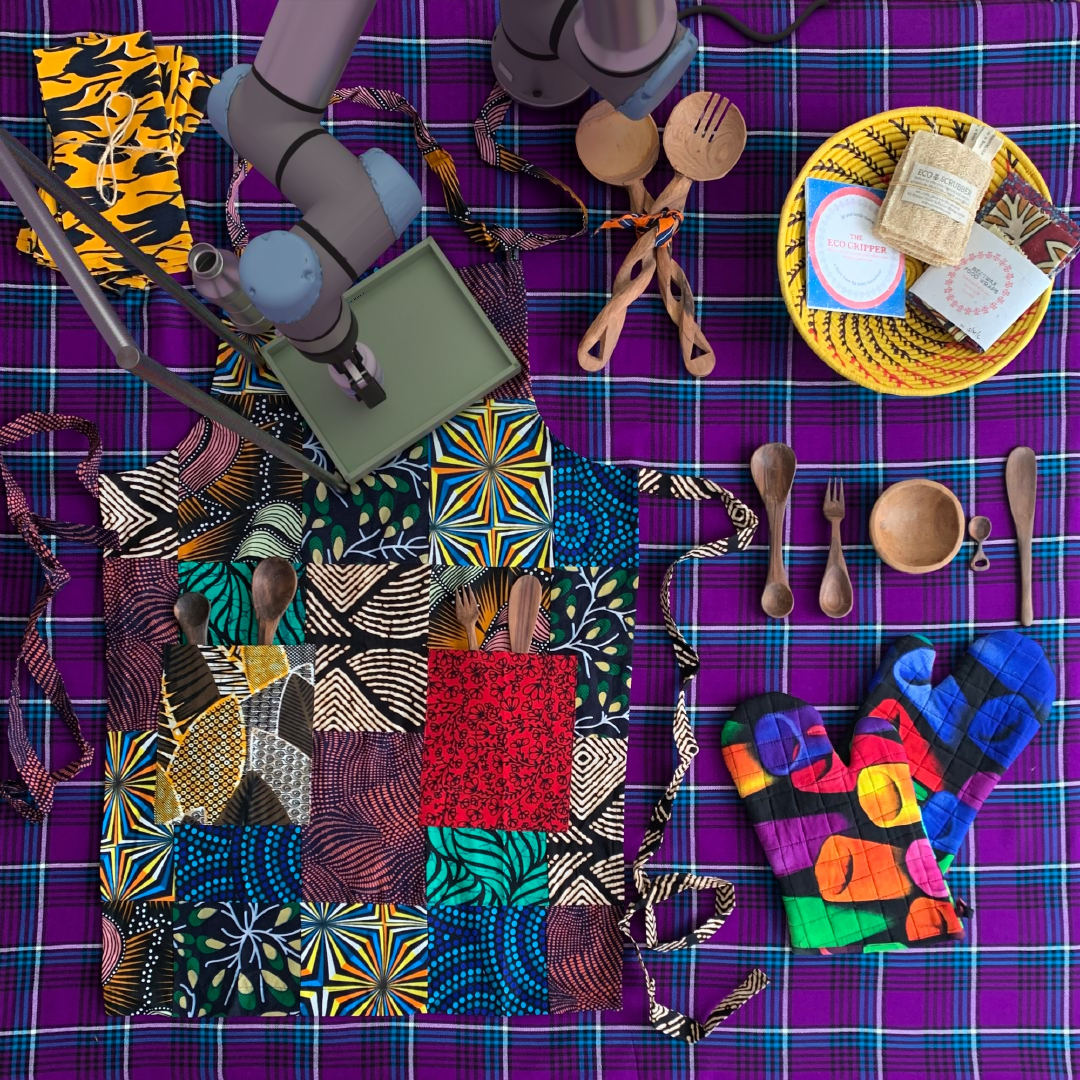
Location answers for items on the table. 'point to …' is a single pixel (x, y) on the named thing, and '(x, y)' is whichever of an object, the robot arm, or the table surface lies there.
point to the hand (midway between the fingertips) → (362, 376)
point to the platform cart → (337, 421)
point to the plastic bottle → (224, 286)
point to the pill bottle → (369, 364)
